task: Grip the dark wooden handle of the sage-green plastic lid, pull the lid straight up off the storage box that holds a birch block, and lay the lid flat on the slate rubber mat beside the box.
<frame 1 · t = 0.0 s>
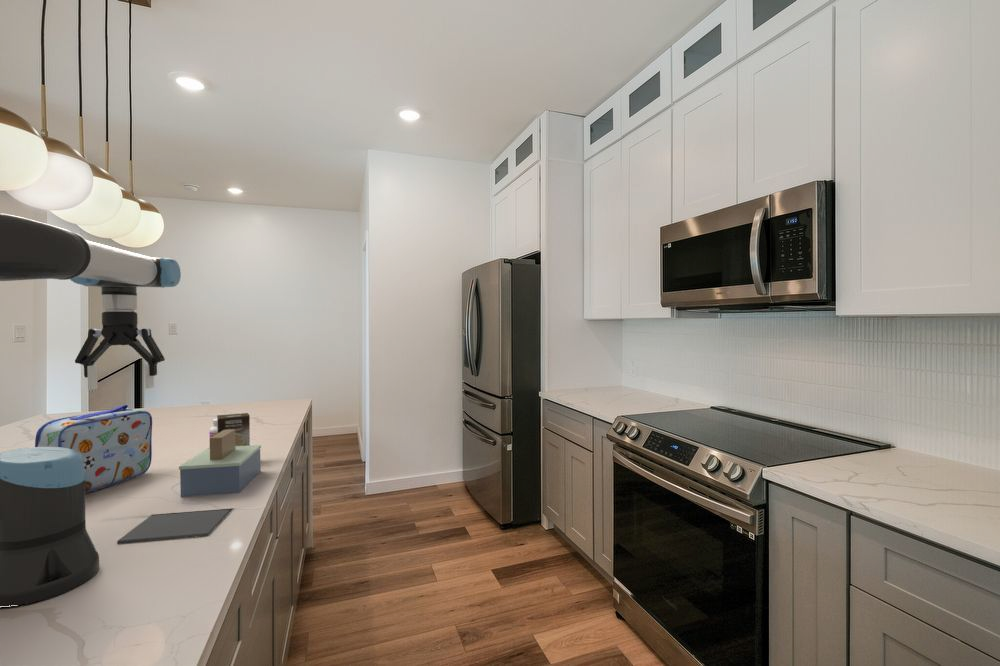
hand: (121, 388, 126), 28 cm above the worktop, tool pointing down, fingers open, 13 cm apart
lid: (223, 457, 130), point 8 cm above the worktop, touching storage box
supplement bottle: (221, 456, 160), on the worktop
storage box: (223, 485, 130), on the worktop
lunch box: (101, 486, 131), on the worktop
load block: (223, 483, 130), point 1 cm above the worktop, touching storage box
coffee box: (233, 465, 150), on the worktop
mat: (187, 518, 108), on the worktop
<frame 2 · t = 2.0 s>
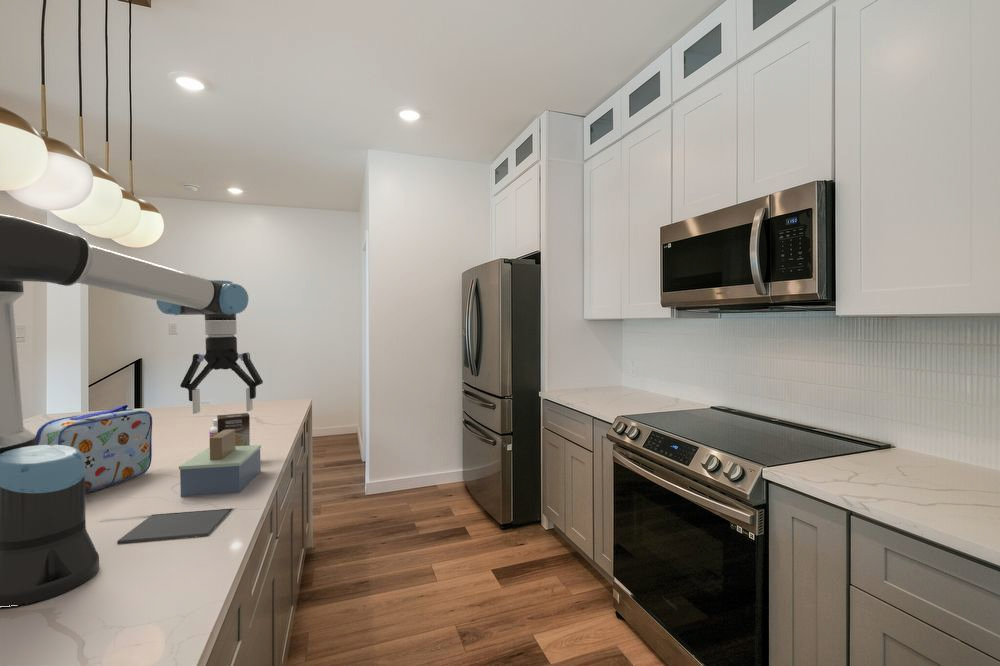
hand: (223, 411, 130), 21 cm above the worktop, tool pointing down, fingers open, 13 cm apart
nothing on the worktop moved.
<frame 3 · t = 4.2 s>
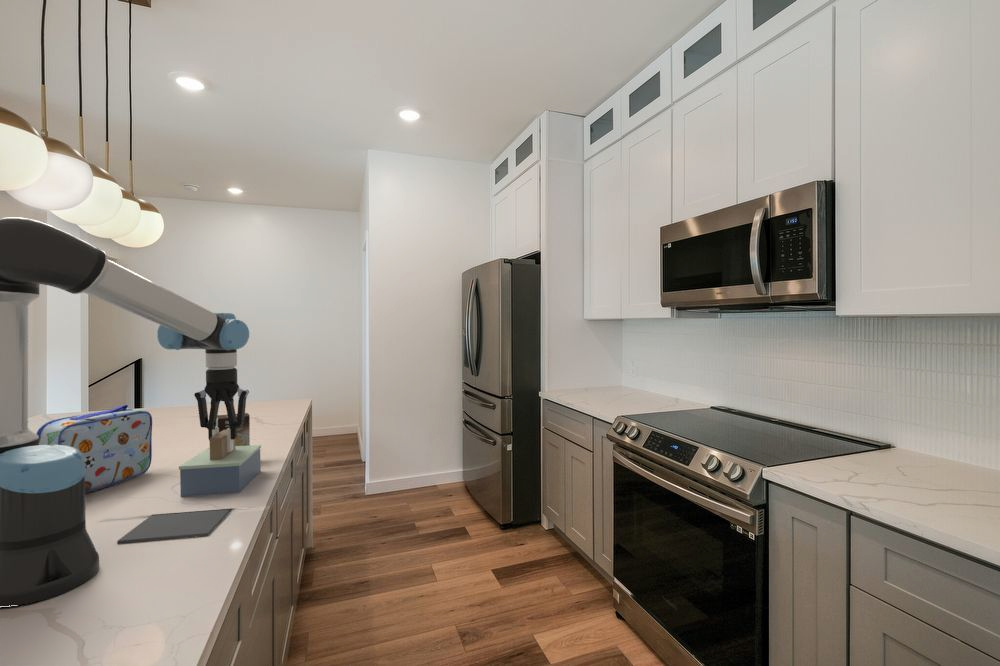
hand: (223, 451, 130), 10 cm above the worktop, tool pointing down, fingers closed on lid, 3 cm apart
lid: (223, 457, 130), point 8 cm above the worktop, touching gripper, storage box
everything else where it was.
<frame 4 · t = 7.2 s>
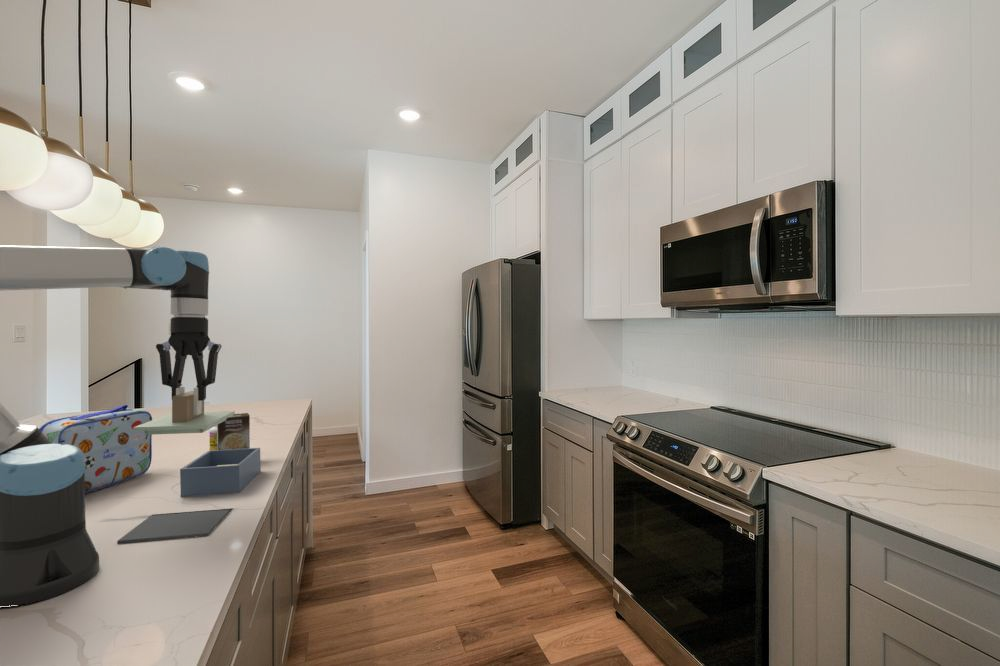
hand: (188, 414, 111), 24 cm above the worktop, tool pointing down, fingers closed on lid, 3 cm apart
lid: (188, 421, 111), point 22 cm above the worktop, touching gripper
everything else where it was.
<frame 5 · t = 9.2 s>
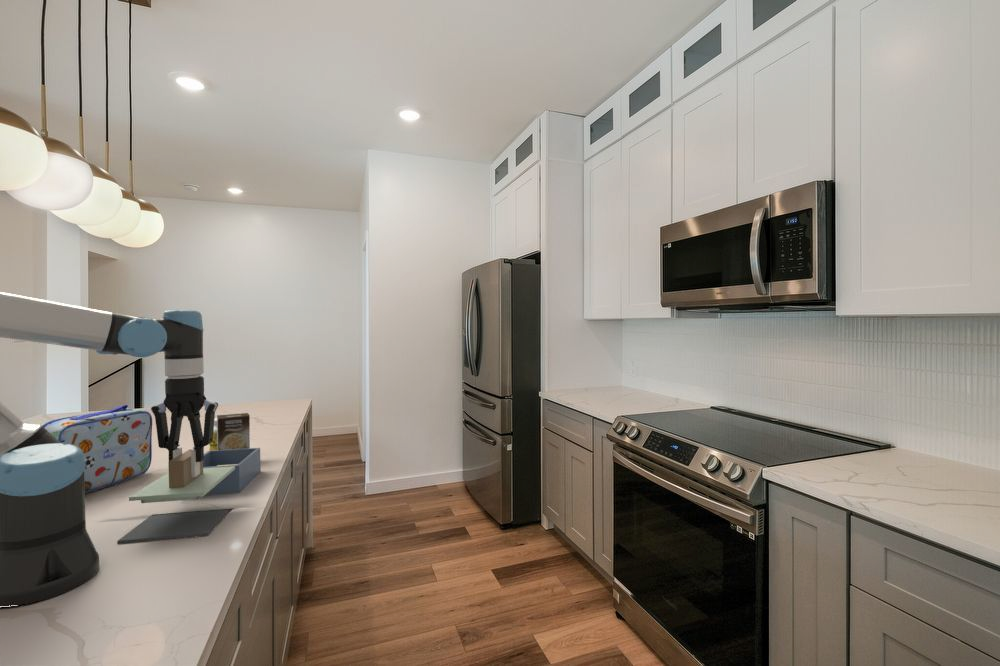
hand: (187, 475, 108), 10 cm above the worktop, tool pointing down, fingers closed on lid, 3 cm apart
lid: (187, 483, 108), point 8 cm above the worktop, touching gripper
everything else where it was.
when the fingers open (5 cm above the worktop, at t = 10.7 s): lid drops 2 cm, resting on mat.
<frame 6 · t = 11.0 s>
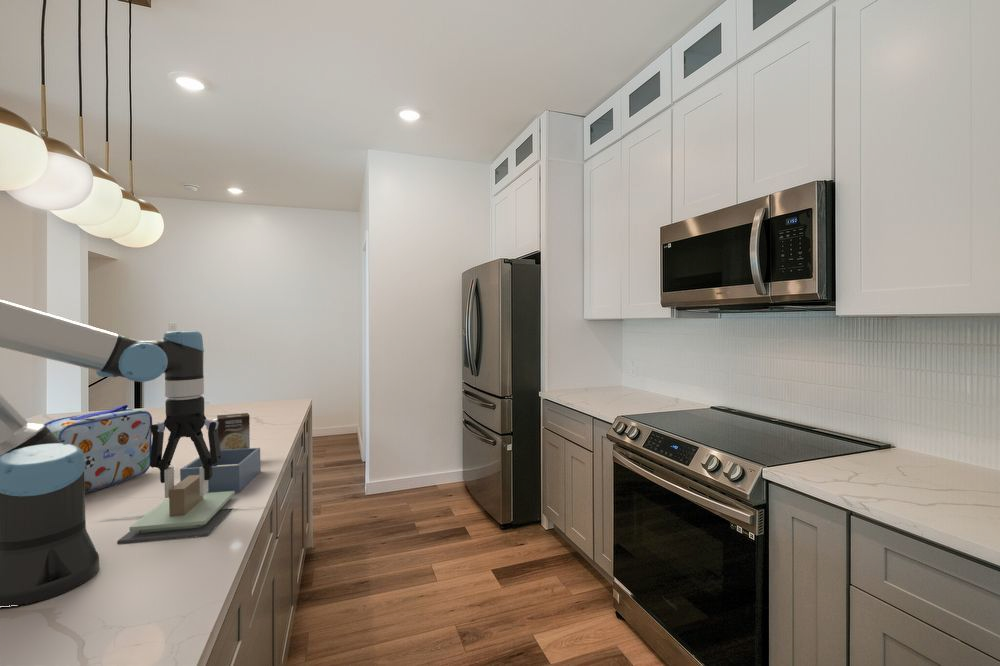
hand: (187, 494, 108), 6 cm above the worktop, tool pointing down, fingers open, 7 cm apart
lid: (187, 510, 108), point 2 cm above the worktop, touching mat
everything else where it was.
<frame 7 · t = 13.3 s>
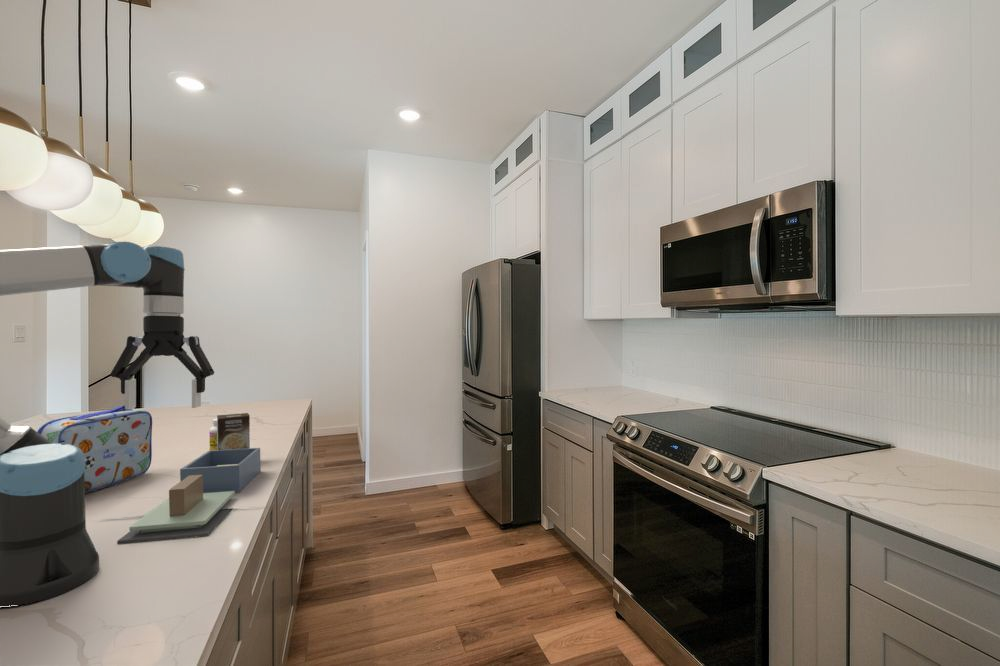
hand: (163, 407, 106), 26 cm above the worktop, tool pointing down, fingers open, 13 cm apart
nothing on the worktop moved.
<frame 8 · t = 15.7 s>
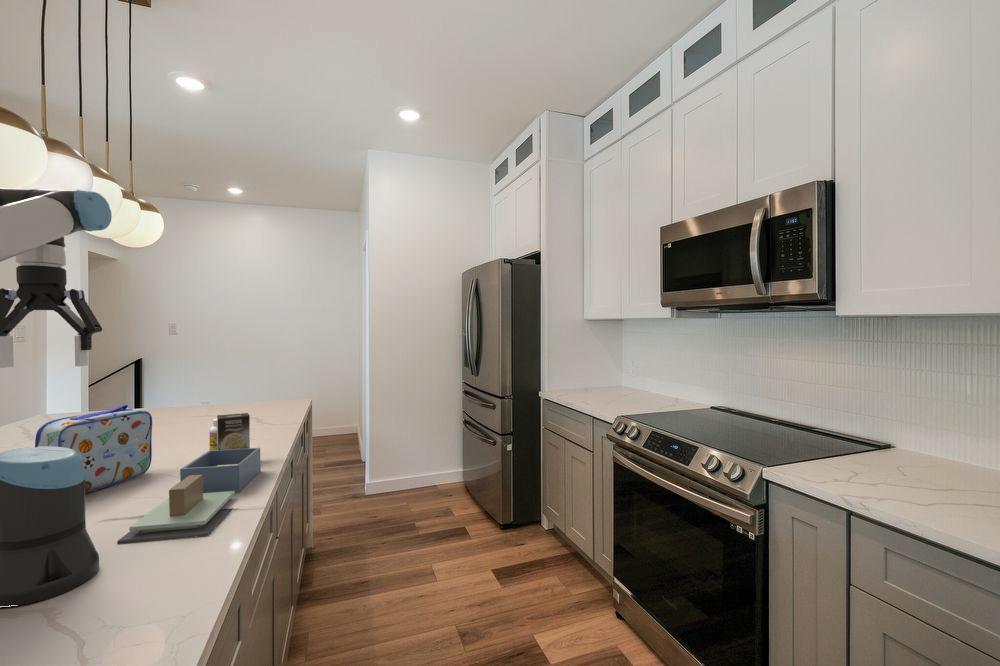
hand: (44, 366, 98), 37 cm above the worktop, tool pointing down, fingers open, 13 cm apart
nothing on the worktop moved.
at the end: lid inside the target area on the mat (0.0 cm from its centre), point 1.8 cm above the mat's base; lid tilted 0°; the gripper is holding nothing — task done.
